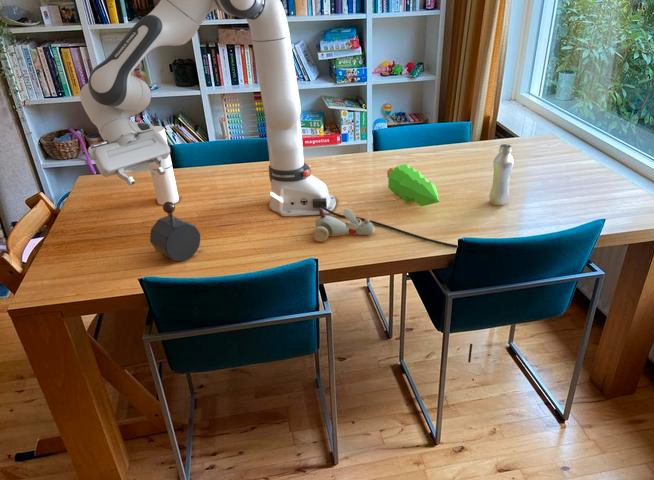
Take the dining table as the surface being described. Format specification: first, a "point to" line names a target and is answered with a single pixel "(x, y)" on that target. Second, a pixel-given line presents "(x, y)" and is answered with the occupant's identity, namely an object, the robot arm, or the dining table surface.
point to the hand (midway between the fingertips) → (148, 178)
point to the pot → (174, 236)
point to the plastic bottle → (501, 176)
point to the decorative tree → (411, 185)
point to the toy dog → (340, 226)
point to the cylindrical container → (164, 177)
